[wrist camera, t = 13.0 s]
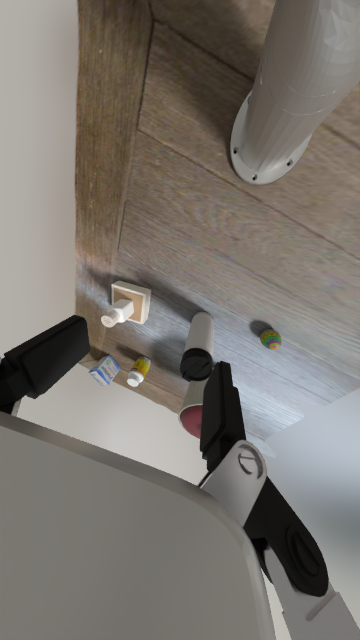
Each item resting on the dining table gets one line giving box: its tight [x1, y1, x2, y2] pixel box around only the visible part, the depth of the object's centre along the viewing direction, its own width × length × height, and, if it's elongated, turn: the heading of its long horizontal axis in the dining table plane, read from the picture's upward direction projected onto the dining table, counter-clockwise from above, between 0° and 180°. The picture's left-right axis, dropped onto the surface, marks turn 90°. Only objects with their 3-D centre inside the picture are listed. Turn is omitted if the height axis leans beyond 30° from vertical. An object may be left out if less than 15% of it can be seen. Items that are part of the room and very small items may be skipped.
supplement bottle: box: [127, 357, 151, 387], centre depth 54 cm, size 6×6×10 cm
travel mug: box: [180, 312, 213, 382], centre depth 36 cm, size 6×7×20 cm
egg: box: [260, 329, 281, 350], centre depth 40 cm, size 5×5×6 cm
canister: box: [178, 367, 214, 439], centre depth 46 cm, size 18×18×21 cm
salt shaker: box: [101, 299, 134, 327], centre depth 38 cm, size 4×4×10 cm
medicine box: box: [89, 355, 121, 386], centre depth 59 cm, size 8×4×9 cm, turn 28°
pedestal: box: [112, 281, 151, 325], centre depth 44 cm, size 10×10×4 cm
